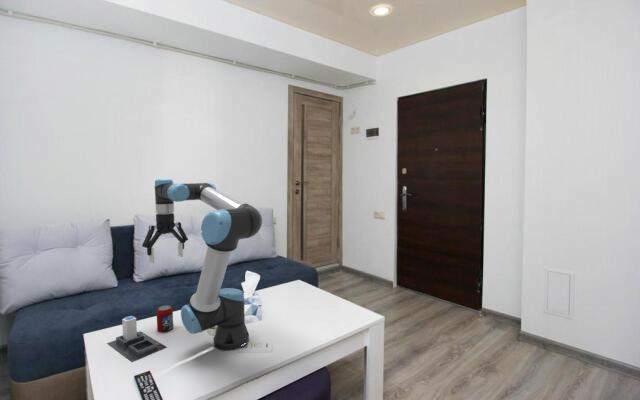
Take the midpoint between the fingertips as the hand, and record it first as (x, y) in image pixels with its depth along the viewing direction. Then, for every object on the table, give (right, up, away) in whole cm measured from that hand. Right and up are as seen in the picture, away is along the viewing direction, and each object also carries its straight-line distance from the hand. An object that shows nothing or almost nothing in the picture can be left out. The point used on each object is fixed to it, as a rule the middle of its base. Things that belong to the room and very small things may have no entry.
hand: (166, 259), depth 152 cm
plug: (-12, -34, -8) cm, 37 cm away
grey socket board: (-7, -36, -12) cm, 38 cm away
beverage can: (-2, -35, +3) cm, 35 cm away
